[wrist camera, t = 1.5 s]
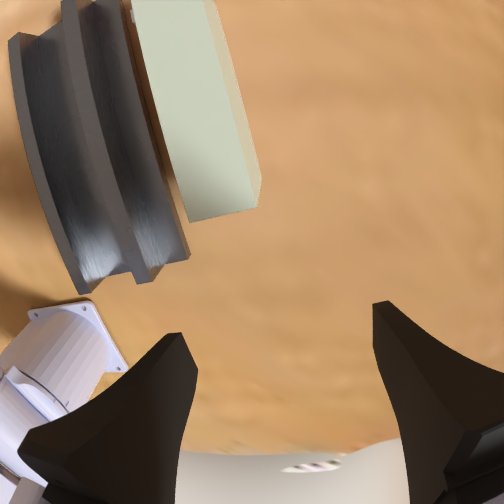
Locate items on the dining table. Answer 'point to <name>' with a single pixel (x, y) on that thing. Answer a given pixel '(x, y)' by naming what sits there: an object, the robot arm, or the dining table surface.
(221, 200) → the sage green block
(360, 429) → the dining table surface
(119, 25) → the rail
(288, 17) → the dining table surface
